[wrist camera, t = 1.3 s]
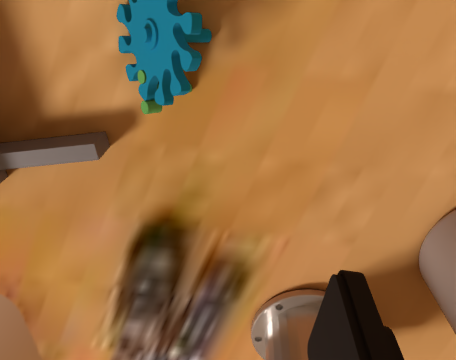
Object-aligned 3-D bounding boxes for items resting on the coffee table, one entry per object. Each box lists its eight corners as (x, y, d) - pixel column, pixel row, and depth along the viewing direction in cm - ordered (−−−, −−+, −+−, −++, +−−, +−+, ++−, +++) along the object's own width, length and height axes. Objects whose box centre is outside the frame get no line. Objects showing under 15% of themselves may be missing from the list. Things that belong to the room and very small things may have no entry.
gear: (115, -63, 28) (198, -19, 22) (183, -51, 31) (269, -11, 26) (104, 82, 34) (167, 144, 29) (162, 78, 38) (228, 132, 32)
